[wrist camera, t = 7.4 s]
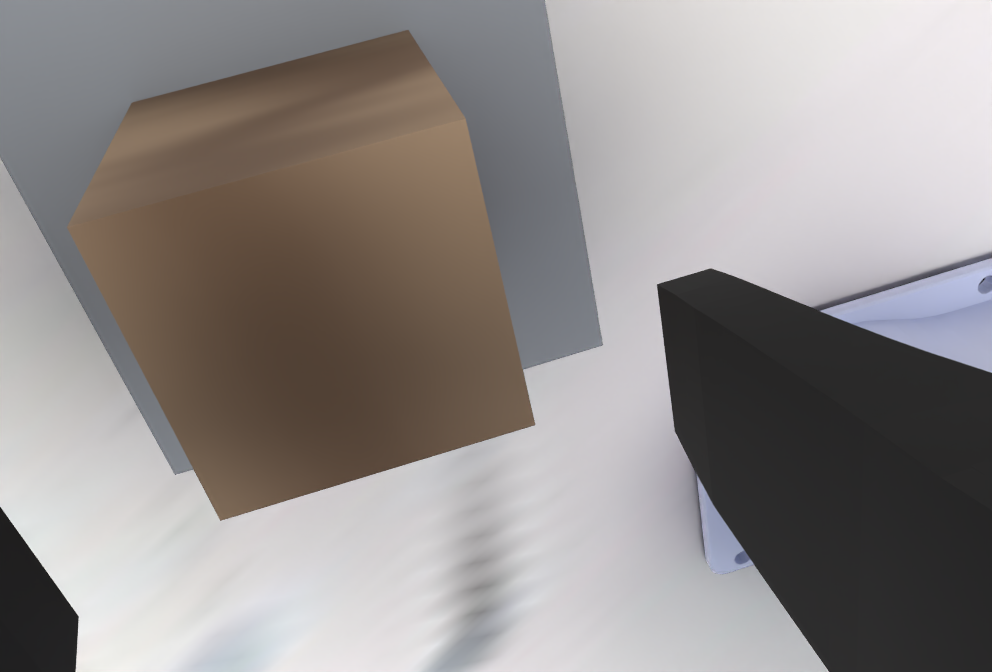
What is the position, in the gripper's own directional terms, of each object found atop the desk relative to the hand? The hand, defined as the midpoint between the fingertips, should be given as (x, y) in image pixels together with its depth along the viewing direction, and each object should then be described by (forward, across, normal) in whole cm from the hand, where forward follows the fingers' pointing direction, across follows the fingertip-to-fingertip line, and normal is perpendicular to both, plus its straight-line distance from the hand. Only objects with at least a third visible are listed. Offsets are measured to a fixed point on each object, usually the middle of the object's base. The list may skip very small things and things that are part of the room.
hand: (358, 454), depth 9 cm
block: (+7, 0, 0) cm, 7 cm away
